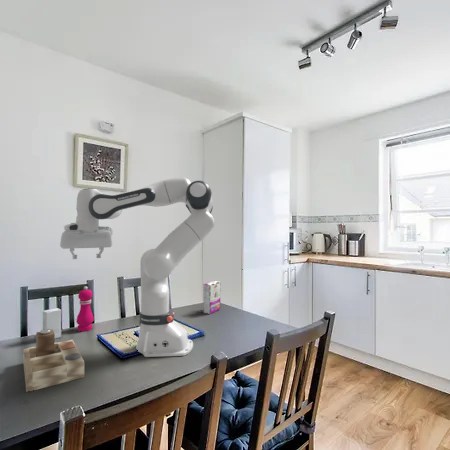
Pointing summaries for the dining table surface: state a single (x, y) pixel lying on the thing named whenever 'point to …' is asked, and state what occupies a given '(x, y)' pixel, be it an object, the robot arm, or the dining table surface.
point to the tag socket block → (52, 366)
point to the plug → (45, 342)
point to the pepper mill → (85, 310)
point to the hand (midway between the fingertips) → (86, 258)
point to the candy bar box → (211, 297)
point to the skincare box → (52, 321)
